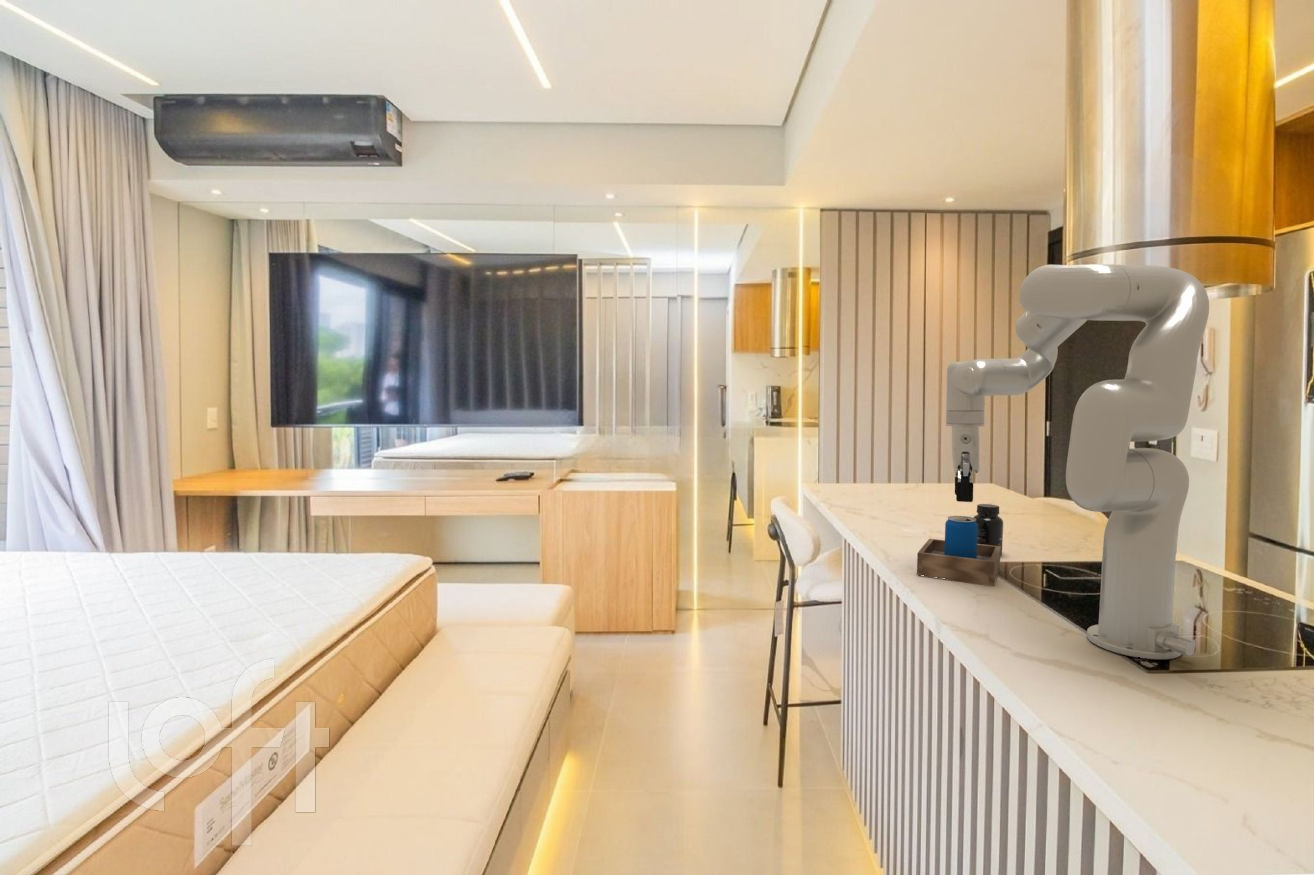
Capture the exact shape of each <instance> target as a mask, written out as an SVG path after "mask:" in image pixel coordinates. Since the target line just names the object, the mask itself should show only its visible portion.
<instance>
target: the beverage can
mask: <svg viewBox="0 0 1314 875" xmlns="http://www.w3.org/2000/svg"><path fill="white" fill-rule="evenodd" d="M944 528H945V529H944V540H945V549H944V555H948V556H957V557H965V558H973V559H977V534H978V525H977V523H976V519H975V518H973V517H971V516H966V515H950V516H948V517H947V520H946V521H945V523H944Z"/></svg>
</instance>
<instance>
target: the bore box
mask: <svg viewBox="0 0 1314 875" xmlns="http://www.w3.org/2000/svg"><path fill="white" fill-rule="evenodd" d="M944 549H945V539H937V538H929V539H927V540H926V542H925V543H924V545H922V547H921V548H920V549H919V550H918V552H917V555H916V556H917V557H916V558H917V560H916V561H917V562H916V576H917V575H924V576H928V577H927V578H930V577H937V578H936V579H938V578H945V579H948V580H947V581H952V580H955V581H954V582H960V583H969V584H976V585H982V586H989V587H994V586H995V584H996V581H997V578H998V574H999V572H1000V569H1001V556H1000V553H1001V546H993V545H984V544H977V559H973V558H965V557H957V556H948V555H944ZM945 579H944V580H945Z"/></svg>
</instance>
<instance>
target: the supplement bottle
mask: <svg viewBox="0 0 1314 875" xmlns="http://www.w3.org/2000/svg"><path fill="white" fill-rule="evenodd" d="M976 513H977V514H976V515H974V516H973V517H972V518H975V519H976V523H977V525H978V534H977V544H984V545H993V546H1001V553H1000V557H1002V554H1003V540H1004V539H1003V536H1004V520H1003V518H1001V517H1000V516H999V515H1000V506H999V505H997V504H993V503H992V504H991V503H990V504H989V503H978V504H977V505H976Z"/></svg>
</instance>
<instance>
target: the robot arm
mask: <svg viewBox="0 0 1314 875" xmlns="http://www.w3.org/2000/svg"><path fill="white" fill-rule="evenodd" d="M1209 299H1210V298H1209V296H1208V293H1207V291H1206V288H1205V287H1204V285H1203V284H1202V283H1201V281H1200V280H1199V279H1198V278H1196V276H1194V275H1193V274H1191V273H1188V272H1186V271H1184V270H1182V269H1177V268H1173V267H1168V266H1160V265H1148V264H1147V265H1143V264H1135V265H1133V264H1115V263H1114V264H1111V263H1110V264H1108V263H1106V264H1104V263H1101V264H1100V263H1098V264H1097V263H1095V264H1045V265H1042V266H1039V267H1037V268H1035V269H1034V270H1032V271H1031V272H1030V273H1029V274H1027V276H1026V277H1025V278H1024V280H1023V282H1022V283H1021V286H1020V289H1019V303H1020V305H1021V307H1022V308H1023V309H1024V310H1025V312H1023V314H1022V315H1020V316H1019V317H1018V319H1017V320H1016V323H1015V333H1016V335H1017V338H1018V339H1019V341H1020V342H1021V343H1022V344H1023V345H1024V346H1025V347H1026V350H1025V351H1024V352H1023V353H1022V354H1020V355H1019V356H1018V357H1016V358H977V359H971V360H969V361H968V360H967V361H953V362H950V363H949V364H948V366H947V368H946V369H947V370H946V402H945V403H946V406H945V407H946V412H945V414H946V416H945V417H946V418H945V421H946V422H945V426H947V427H951V458H952V466H953V471H955V476H954V494H955V495H956V499H955V500H956V502H960V503H962V502H963V503H973V502H974V482H973V472H975V474H978V473H980V428H979V427H984V426H985V410H986V409H985V405H986V402H985V401H986V399H985V398H986V397H991V396H992V397H993V396H1019V395H1023V394H1025V393H1027V392H1029V391H1031V390H1032V389H1033V388H1035V387H1036V386H1038V385H1039V384H1040V383H1041V382H1042V381H1043V380H1045V379H1046V378H1047V377H1048V376H1049V375H1050V374H1051V372H1053V369H1054V368H1055V364H1056V363H1057V359H1058V352H1059V351H1058V350H1059V349H1058V347H1059V346H1060V345H1062V344H1063V343H1064V342H1065V341H1066V340H1067V339H1068V338H1069V337H1070V336H1071V335H1072V334H1073V333H1075V331H1077V330H1078V329H1080V328H1081V326H1083V325H1084V324H1085V323H1086V322H1087V321H1108V322H1109V321H1111V322H1114V321H1116V322H1117V321H1118V322H1119V321H1120V322H1126V321H1127V322H1130V321H1131V322H1132V321H1133V322H1135V321H1136V322H1143V323H1145V326H1144V327H1143V328H1142V330H1141V331H1140V332H1139V334H1138V335H1137V337H1136V338H1135V340H1134V342H1133V343H1132V345H1131V348H1130V350H1129V353H1128V360H1127V362H1128V363H1127V367H1126V372H1125V376H1124V379H1106V380H1102V381H1098V382H1095V383H1094V384H1092V385H1091V386H1089V387H1087V389H1085V390H1084V392H1083V393H1082V394H1081V396H1080V397H1079V399H1078V400H1077V403H1076V404H1075V408H1074V411H1073V416H1072V423H1071V430H1070V437H1069V438H1070V439H1069V443H1068V450H1067V451H1068V452H1067V460H1066V468H1065V485H1066V486H1065V487H1066V489H1067V492H1068V495H1069V497H1070V498H1071V500H1072V501H1073V503H1074V504H1076V505H1077V506H1078V507H1079V508H1082V509H1083V510H1086V511H1089V512H1100V513H1104V512H1108V513H1109V512H1111V513H1110V515H1109V517H1108V519H1107V522H1106V523H1105V524H1106V525H1105V528H1104V531H1103V532H1104V533H1103V541H1102V542H1103V545H1102V556H1101V557H1102V559H1101V577H1100V578H1101V579H1100V593H1099V609H1098V610H1099V611H1098V612H1099V613H1098V624H1094V625H1091V626H1089V627H1088V628H1087V630H1086V638H1087V639H1088V640H1089V641H1090V642H1091V643H1092V644H1094V645H1096V646H1098V647H1099V648H1102V649H1104V650H1107V651H1109V652H1113V653H1116V654H1119V655H1123V656H1129V657H1133V658H1138V657H1140V658H1139V659H1145V658H1146V659H1148V660H1170V659H1171V660H1172V659H1175V658H1176V659H1177V658H1179V657H1180V656H1181V655H1185V656H1187V657H1191V656H1192V655H1194V653H1195V648H1196V645H1197V642H1196V640H1195V639H1192V638H1190V637H1187V636H1186V637H1185V636H1183V635H1182V636H1181V635H1180V633H1179V632H1180V625H1179V624H1176V623H1174V622H1172V620H1173V605H1174V591H1175V590H1174V589H1175V574H1176V573H1175V572H1176V561H1177V560H1176V556H1177V549H1178V536H1179V528H1180V521H1181V517H1182V513H1183V510H1184V506H1185V502H1186V500H1187V497H1188V493H1189V488H1190V477H1189V476H1190V475H1189V472H1188V470H1187V467H1186V466H1185V463H1184V462H1183V461H1182V460H1181V459H1180V458H1179V457H1177V456H1176V455H1175V454H1173V453H1172V452H1169V451H1166V450H1163V449H1159V448H1151V447H1150V448H1149V447H1135V448H1129V447H1130V444H1131V442H1132V443H1133V442H1134V443H1136V442H1137V443H1138V442H1154V441H1165V440H1169V439H1172V438H1175V437H1176V436H1179V435H1180V433H1181V432H1182V431H1184V429H1185V427H1186V425H1187V422H1188V419H1189V413H1190V408H1191V401H1192V396H1193V391H1194V386H1195V385H1194V383H1195V378H1196V373H1197V366H1198V358H1199V352H1200V348H1201V345H1202V340H1203V336H1204V333H1205V331H1206V327H1207V324H1208V319H1209V314H1210V301H1209Z"/></svg>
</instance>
